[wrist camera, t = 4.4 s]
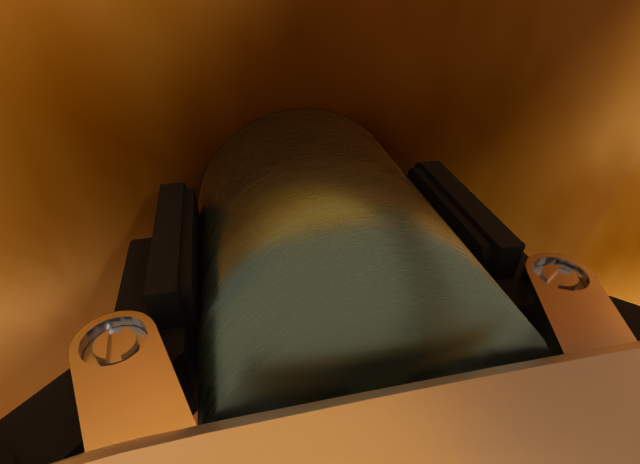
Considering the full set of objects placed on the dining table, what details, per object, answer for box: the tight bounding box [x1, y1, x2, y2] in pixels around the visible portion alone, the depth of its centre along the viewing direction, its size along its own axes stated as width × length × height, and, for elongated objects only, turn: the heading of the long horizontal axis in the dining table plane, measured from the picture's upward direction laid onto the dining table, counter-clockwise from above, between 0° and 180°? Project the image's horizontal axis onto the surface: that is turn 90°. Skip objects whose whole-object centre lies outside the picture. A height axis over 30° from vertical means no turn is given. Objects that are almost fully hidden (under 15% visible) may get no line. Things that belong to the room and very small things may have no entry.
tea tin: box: [198, 108, 551, 425], centre depth 9 cm, size 6×6×7 cm
